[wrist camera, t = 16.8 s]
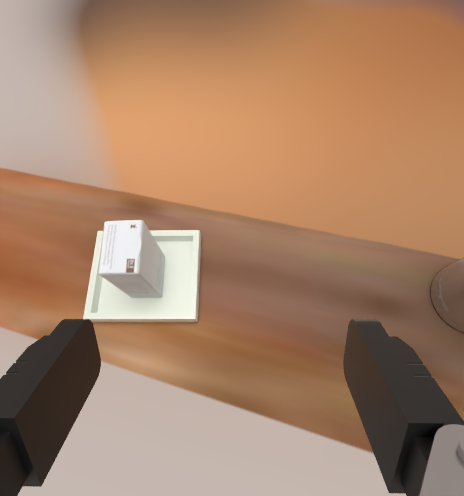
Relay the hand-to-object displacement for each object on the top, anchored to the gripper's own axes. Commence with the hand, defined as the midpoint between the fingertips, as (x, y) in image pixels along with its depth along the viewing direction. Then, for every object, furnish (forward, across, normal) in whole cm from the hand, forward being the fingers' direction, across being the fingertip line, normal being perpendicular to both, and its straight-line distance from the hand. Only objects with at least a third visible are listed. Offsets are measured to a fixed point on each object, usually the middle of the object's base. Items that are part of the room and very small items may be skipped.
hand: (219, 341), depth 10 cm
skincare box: (+31, +12, +15) cm, 36 cm away
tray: (+31, +12, +15) cm, 37 cm away
